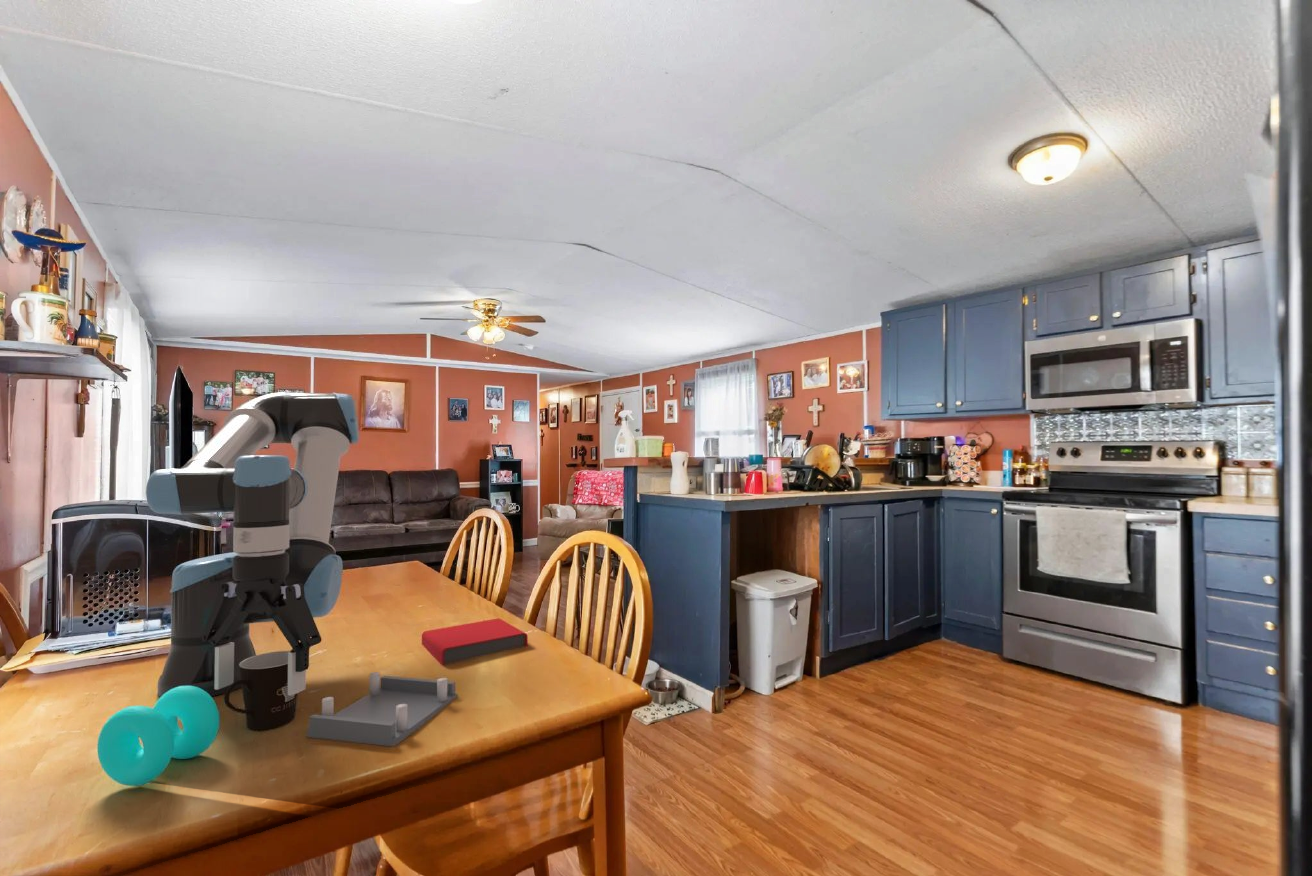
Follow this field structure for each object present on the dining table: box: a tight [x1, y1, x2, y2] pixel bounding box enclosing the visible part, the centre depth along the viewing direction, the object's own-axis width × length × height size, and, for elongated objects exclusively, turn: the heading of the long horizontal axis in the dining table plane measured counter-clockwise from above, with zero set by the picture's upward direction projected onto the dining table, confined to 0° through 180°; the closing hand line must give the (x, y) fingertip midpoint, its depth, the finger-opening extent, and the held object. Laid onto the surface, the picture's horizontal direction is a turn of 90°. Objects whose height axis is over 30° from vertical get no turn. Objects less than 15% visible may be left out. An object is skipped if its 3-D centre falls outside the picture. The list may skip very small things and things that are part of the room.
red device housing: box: [421, 618, 529, 666], centre depth 131 cm, size 18×14×5 cm
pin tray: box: [305, 671, 459, 748], centre depth 100 cm, size 15×17×4 cm
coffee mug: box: [223, 650, 299, 732], centre depth 97 cm, size 12×9×10 cm
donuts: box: [96, 686, 220, 787], centre depth 83 cm, size 10×10×10 cm
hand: (259, 689), depth 96 cm, fingers open, 13 cm apart
